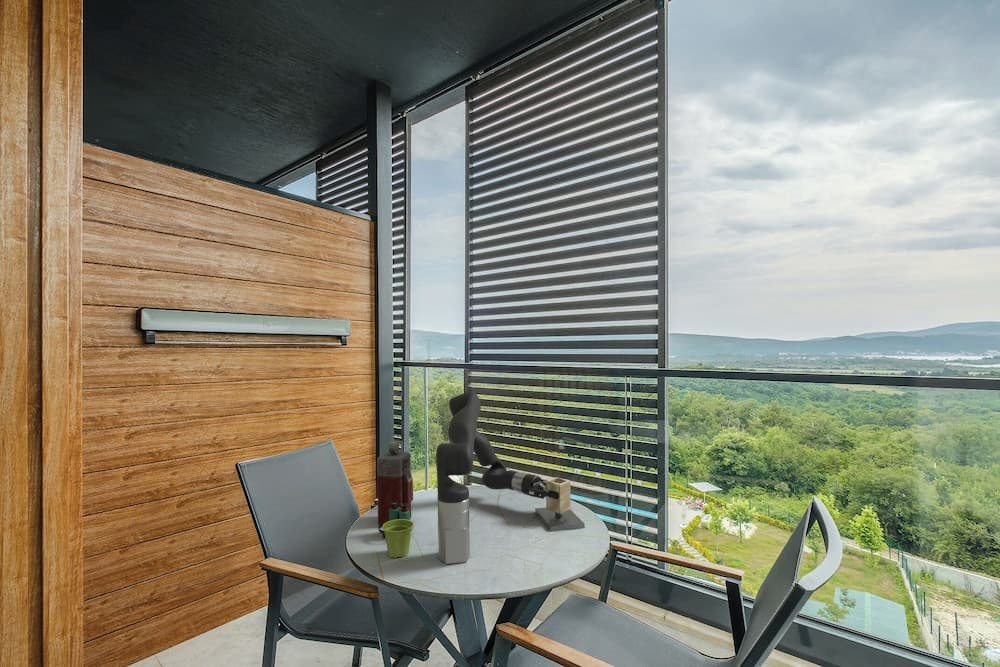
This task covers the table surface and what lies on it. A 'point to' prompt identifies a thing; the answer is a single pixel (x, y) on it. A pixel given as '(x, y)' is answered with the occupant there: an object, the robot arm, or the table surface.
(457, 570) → the table surface
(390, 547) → the plant pot
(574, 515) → the post plate
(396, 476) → the dark red bottle
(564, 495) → the wooden sleeve
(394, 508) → the binoculars
